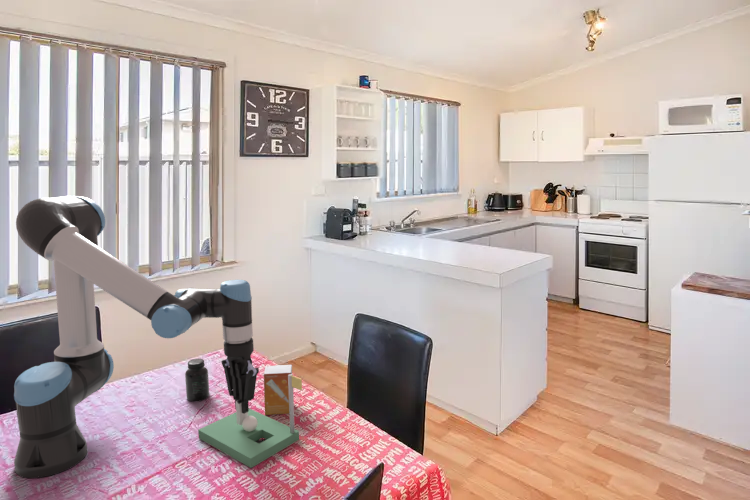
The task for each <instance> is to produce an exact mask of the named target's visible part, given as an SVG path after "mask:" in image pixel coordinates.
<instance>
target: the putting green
mask: <svg viewBox="0 0 750 500" xmlns="http://www.w3.org/2000/svg"><path fill="white" fill-rule="evenodd" d="M302 380H303V379H302V378H300V377H297V376H295V375H293V373H292V374H289V375H288V385H289V414H288V415H289V425H286V424H284V423H282V422H280V421H278V420H276V419H274V418H271V417H269V416H268V415H265V414H263V413H260V412H259V411H256V410H254V409H251V408H250V407H249V411H248V416H254V417H255V418H256V419H257V421H258V425H257V427H256V429H255V430H253V431H251V432H248V431H245V430H244V429H243V426H242V425H238V424H237V417H236V411H235V412H233V413H232V414H229V415H227V416H225V417H223V418H220V419H218V420H216V421H214V422H212V423H209V424H208V425H206V426H203V427H202V428H201V427H200V428H199V429H197V430H198V431H197V432H198V439H199V440H201V441H202V442H205V443H206V444H207V445H210V446H212V447H213V448H215V449H217V450H219V452H221V453H224V454H226V455H227V456H229V457H231V458H232V459H234V460H236V461H238V462H240V463H241V464H243V465H245V466H247V467H248V468H250V469H252V468H253V467H256V466H257V465H259V464H260V463H262V462H264V461H266V460H267V459H269V458H271V457H272V456H274V455H276V454H278V453H279V452H281V451H282V450H284V449H286V448H288V447H289V446H291V445H293V444H295V443H296V442H298V441H299V440H300V430H298V429H295V404H294V403H295V401H294V389H297V390H300V391H302V390H303V381H302Z"/></svg>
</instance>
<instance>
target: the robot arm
mask: <svg viewBox="0 0 750 500" xmlns="http://www.w3.org/2000/svg"><path fill="white" fill-rule="evenodd" d="M15 226H16V230H17V234H18V236H19V238H20V239H21V240H22V241H23V243H24V244H25V245H26V246H27V247H29V249H31V251H33V252H34V253H36V254H37V255H39V256H41V257H42V258H44V259H45V260H47V261H49V262H50V261H51V262H52V261H53V271H54V282H55V295H56V306H57V307H56V309H57V319H58V321H57V322H58V334H59V335H58V336H59V345H58V346H57V347H56V348H54V350H53V355H54V356H53V357H54V359H53V360H54V361H51V362H50V361H49V362H45V363H41V364H40V365H35V366H32V367H30V368H28V369H26V370H24V371H23V372H22V373H20V374H19V375H18V377H17V378H16V379H15V382H14V385H13V388H14V392H13V399H14V402H15V409H16V417H17V423H18V431H19V443H18V446H17V449H16V454H15V458H14V461H13V465H14V472H15V474H16V475H17V476H19V477H22V478H24V479H25V478H27V479H35V478H37V479H38V478H44V477H49V476H52V475H56V474H60V473H62V472H64V471H67V470H69V469H71V468H73V467H74V466H76V465H77V464H78V463H80V462H81V461H83V459H84V458H85V457H86V456H87V454H88V444H87V443H88V442H87V441H86V438H85V437H84V435H83V433H82V432H81V429H80V428H79V425H78V424H77V418H76V407H77V405H78V404H80V403H82V401H84V400H86V399H87V398H89V397H90V396H91V395H93V394H94V393H96V392H98V391H99V390H100V389H102V388H103V387H104V386H105V384H107V383H108V382H109V381H110V379H111V378H112V376H113V373H114V367H115V366H114V365H115V364H114V359H113V357H112V355H111V354H109V353H108V350H107V349H105V344H104V343H103V342H102V341H100V340H99V339H98V334H97V333H98V331H97V315H96V313H97V312H96V301H95V299H96V298H95V297H96V296H95V287H94V286H96V287H98V288H100V289H101V290H103V291H105V292H106V293H107V294H109V295H111V296H112V297H114V298H115V299H116V300H118V301H120V302H122V303H123V304H125V305H127V306H128V307H130V308H131V309H133V310H134V311H136V312H137V313H139V314H141V315H142V316H144V317H145V318H147V319H148V320H150V323H151V325H150V326H151V328H152V329H153V331H154V332H155V334H156V335H157V336H159V337H161V338H163V339H173V338H174V339H175V338H177V337H179V336H180V335H182V334H184V333H186V332H187V331H189V329H190V328H191V327H193V326H194V325H195V324H197V323H198V322H200V321H201V320H202V319H206V318H207V319H208V318H209V319H210V318H212V319H213V318H214V319H216V318H217V319H218V318H221V320H222V321H221V322H222V339H223V354H224V356H225V357H226V358H225V359H222V360H221V365H222V368H223V371H224V375H225V380H226V385H227V390H228V395H229V396H230V397H232V398H233V400H234V406H235V408H234V409H235V412H236V417H237V424H238V425H242V422H243V420H244V419H245V418H246V417H247V416H248V411H249V408H250V407H249V402H250V401H251V400H254V398H255V391H256V383H257V378H258V377H257V376H258V374H259V372H260V370H259V368H258V367H255V366H254V365H253V360H252V358H251V357H252V354H253V352H254V339H253V336H254V334H253V315H252V314H253V310H252V297H253V296H252V293H251V284H250V283H249V282H248V281H247V280H243V279H230V280H225V281H223V282H221V283H220V286H219V288H196V287H195V288H194V287H189V288H188V287H187V288H180V289H178V290H176V292H175V294H173V293H171V292H169V291H168V290H166V289H164V288H163V287H162V286H159V285H158V284H157V283H155V282H153V281H152V280H151V279H149V278H148V277H146V276H145V275H143V274H141V273H140V272H138V271H136V269H134V268H132V267H131V266H129V265H127V264H126V263H125V262H123V261H121V260H120V259H118V258H116V257H115V256H114V255H112V254H110V252H108V251H106V250H104V249H103V248H101V247H100V246H99V242H98V241H99V240H98V237H99V236H100V234H101V233H102V232H103V231H104V229H105V227H106V216H105V213H104V211H103V209H102V208H101V206H100V205H99V204H97V202H96V201H94V200H93V199H90V198H89V197H86V196H82V195H81V196H79V195H65V196H56V197H41V198H36V199H33V200H31V201H29V202H27V203H26V204H24V205H23V207H21V209H20V210H19V211H18V213H17V216H16V221H15Z"/></svg>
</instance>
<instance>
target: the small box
mask: <svg viewBox="0 0 750 500" xmlns="http://www.w3.org/2000/svg"><path fill="white" fill-rule="evenodd" d="M289 374H292V375H293V364H276V365H265V366H264V372H263V388H264V389H263V391H264V392H263V394H264V396H263V397H264V415H265V416H269V415H272V416H273V415H285V414H286V415H289V385H288V375H289Z"/></svg>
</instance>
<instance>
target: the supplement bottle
mask: <svg viewBox="0 0 750 500" xmlns="http://www.w3.org/2000/svg"><path fill="white" fill-rule="evenodd" d="M205 366H206V365H205V359H204V358H192V359H190V360H189V361H187V369H186V370H185V373H184V378H185V392H186V393H185V394H186V399H187V400H188V401H190V402H201V401H204V400H206V399H208V397H209V396H210V383H209V370H208V368H207V367H205Z"/></svg>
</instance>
